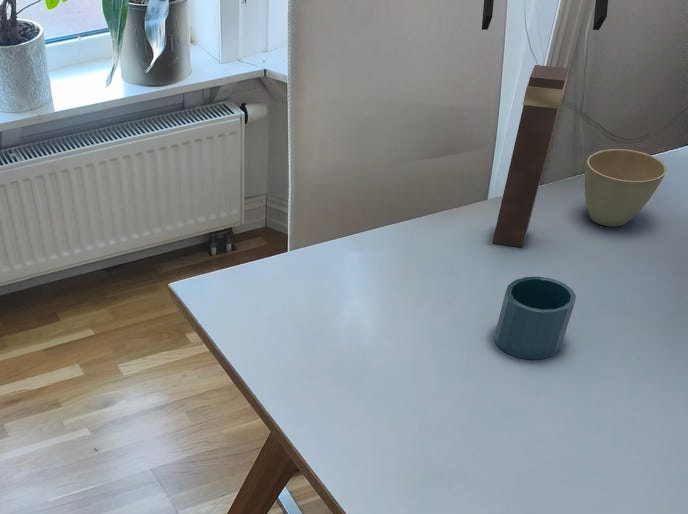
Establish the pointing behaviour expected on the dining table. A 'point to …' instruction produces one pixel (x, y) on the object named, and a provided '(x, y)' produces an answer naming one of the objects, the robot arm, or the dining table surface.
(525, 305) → the holder
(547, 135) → the dark brown long bar
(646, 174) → the flower pot
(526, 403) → the dining table surface
